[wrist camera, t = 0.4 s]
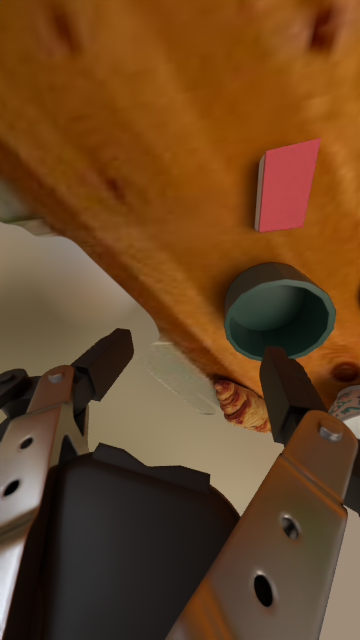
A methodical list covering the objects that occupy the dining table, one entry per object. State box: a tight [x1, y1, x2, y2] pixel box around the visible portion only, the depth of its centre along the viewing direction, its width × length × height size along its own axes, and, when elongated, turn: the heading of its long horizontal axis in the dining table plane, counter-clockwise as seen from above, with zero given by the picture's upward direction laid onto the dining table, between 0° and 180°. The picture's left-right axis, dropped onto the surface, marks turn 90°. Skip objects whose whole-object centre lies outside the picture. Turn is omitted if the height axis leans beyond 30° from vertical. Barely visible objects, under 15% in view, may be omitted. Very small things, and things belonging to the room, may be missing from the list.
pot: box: [224, 263, 336, 361], centre depth 25 cm, size 12×12×8 cm
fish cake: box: [255, 138, 320, 232], centre depth 19 cm, size 7×4×4 cm, turn 8°
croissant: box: [213, 380, 271, 433], centre depth 40 cm, size 21×10×8 cm, turn 45°
